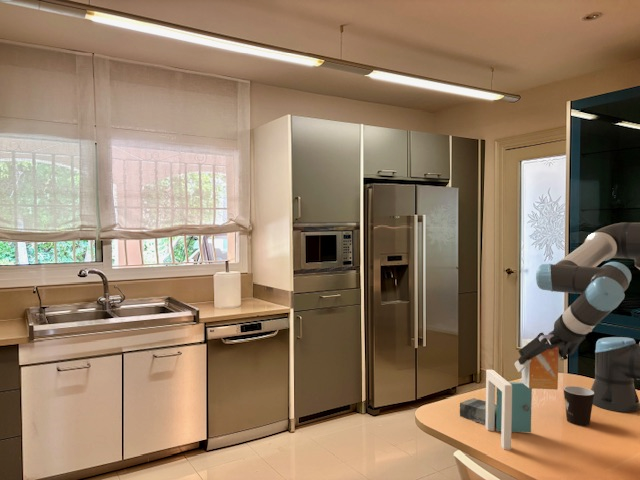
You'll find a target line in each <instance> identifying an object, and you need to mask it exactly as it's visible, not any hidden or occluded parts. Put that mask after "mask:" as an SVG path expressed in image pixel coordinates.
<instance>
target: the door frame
mask: <svg viewBox="0 0 640 480" xmlns="http://www.w3.org/2000/svg"><path fill="white" fill-rule="evenodd" d="M485 373H486V374H485V375H486V376H485V378H486V379H485V401H486V424H485V425H484V426H485V427H484V428H485V430H487V431H495V428H494V420H495V404H496V389H497V388H498V389H499V390H501V391H502V421H501V431H500V436H501V437H500V447H501V448H502V449H503V450H504V451H505V450H506V451H507V450H508V451H509V450H510V451H511V450H512V432H511V423H512V385H511V384H510V383H509V382H510V381H507V380H506V378H504V377H503V376H501V375H500V374H499V373H498V372H497V371H495V370H494V369H486V371H485Z"/></svg>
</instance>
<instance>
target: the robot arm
mask: <svg viewBox="0 0 640 480" xmlns="http://www.w3.org/2000/svg"><path fill="white" fill-rule="evenodd" d="M611 259H626V260H627V259H628V260H629V259H630V260H634V267H636V268H637V269H638V270H640V222H619V223H617V222H616V223H613V224H610V225H607V226H604V227H601V228H599V229H597V230H595V231H593V232H592V233H590V234H588V236H587V237H586V238H585V239H584V242H583V243H582V244H581V245H579V246H578V247H577V248H575V249H574V250H572V252H570V253H569V254H567V255H566V256H564V258H562V259H560V260H559V261H557V263H555V264H552V263H544V264H543V263H541V264H540V265H539V266H538V267H537V269H536V273H535V281H536V285H537V287H538V288H539V289H540V290H542V291H548V292H549V291H550V292H555V293H567V294H577V295H579V296H578V297H577V298H576V299H575V300H574V301H573V302H572V303H571V304H570V305H569V306H568V307H567V308H566V310H565V311H563V312H562V314H561V315H560V316H559V317H558V318H557V319H556V320H555V322H554V324H553V330H552V331H550V332H548V333H547V334H545V333H544V332H540V333H538V334H537V336H536V337H535V338H532V339H533V340H532V341H531V342H530V343H528V344H527V345H526V346H524V347H523V348H522V347H521V349H520V350H518V353H519V355H520V357H519V358H518V359H517V360H515V362H514V367H515V368H516V370H517V373H522V370H523V369H524V368H525V367H526V366H527V365H528V364H529V363H530V362H531V361H532V360H531V359H532V358H533V357H535V356H537V355H539V354H540V353H542V352H544V351H546V350H547V349H553V348H555V347H556V346H558V345H559V357H558V362H559V361H560V360H561V359H563V360H564V361H565V360H567V359H568V356H569V357H570V356H572V355H574V353H575V352H576V350H577V349H578V348H579V346H580V344H582V342H583V341H584V340H586V336H587V335H588V334H589V333H592V332H593V329H594V328H595V327H596V326H598V324H600V323H601V321H602V320H604V318H606V317H607V316H608V315H609V314H610V313H611V312H612V311H613V310H615V309H617V308H618V307H619V305H620V304H621V303H622V301H624V299H625V296H626V295H625V292H626V290H627V289H628V288H629V286H630V282H631V281H632V273H631V270H630V269H629V267H627V266H626V265H625V264H623V263H621V262H617V261H610V260H611ZM604 261H605V262H606V261H609V262H607V263H604V264H603V265H602V266H600V267H598V266H599V265H600V264H601V263H603V262H604ZM548 340H549V342H550V343H551V345H550V344H549V342H548ZM594 355H595V359H594V365H595V366H594V367H595V368H594V380H593V383H592V386H591V388H590V390H592V391H593V392H594V398H593V406H596V407H598V408H601V409H604V410H605V409H606V410H609V411H614V412H622V413H625V412H626V413H632V412H633V413H634V412H637V411H639V410H640V400H639V396H638V393H637V391H636V388H635V380H637V381H640V342H639V343H636V340H635V339H634V338H631V337H627V336H626V337H625V336H624V337H623V336H610V337H609V336H608V337H602V338H598V339H597V341H596V343H595V350H594Z"/></svg>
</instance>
